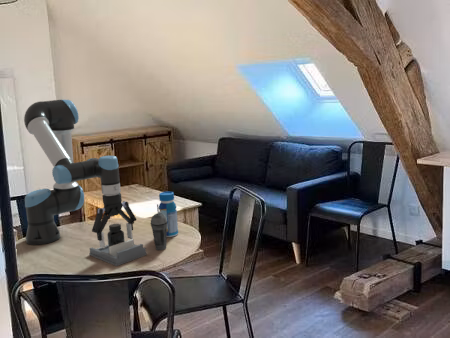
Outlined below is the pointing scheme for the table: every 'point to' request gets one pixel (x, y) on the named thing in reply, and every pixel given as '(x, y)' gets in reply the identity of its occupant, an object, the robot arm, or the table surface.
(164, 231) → the beverage cup
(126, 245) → the plate
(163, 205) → the beverage bottle
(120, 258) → the pusher lane
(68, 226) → the table surface
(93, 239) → the table surface
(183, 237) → the table surface
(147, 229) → the table surface
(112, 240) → the supplement bottle
